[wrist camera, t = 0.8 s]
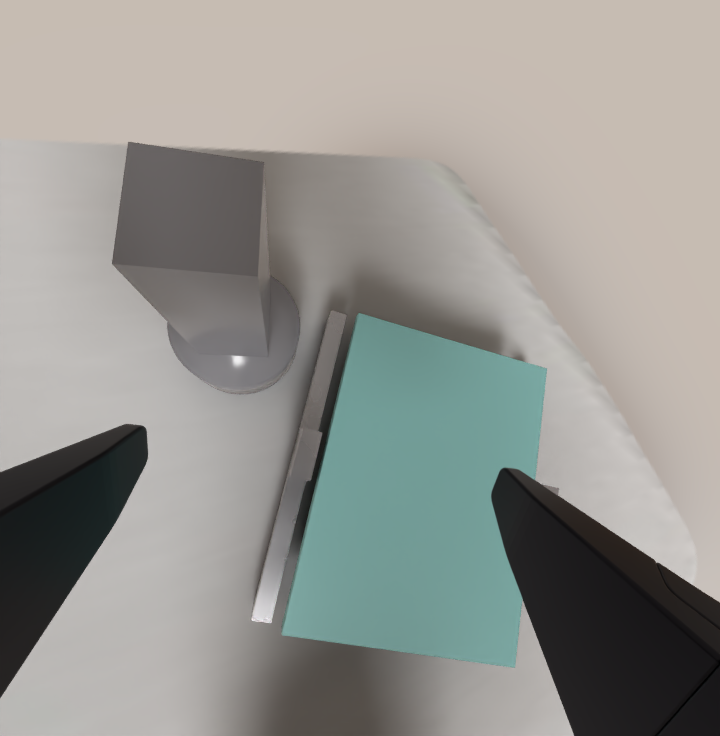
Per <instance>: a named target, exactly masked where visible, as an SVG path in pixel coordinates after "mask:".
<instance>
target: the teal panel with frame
mask: <svg viewBox="0 0 720 736" xmlns="http://www.w3.org/2000/svg"><path fill="white" fill-rule="evenodd" d="M346 317H347V315H346V314H343V313H340V312H336V311H333V310H331V312H330V314H329V317H328V319H327V323H326V327H325V331H324V335H323V338H322V342H321V346H320V350H319V354H318V358H317V362H316V365H315V369H314V373H313V377H312V381H311V385H310V389H309V392H308V396H307V400H306V404H305V408H304V412H303V415H302V419H301V423H300V427H299V431H298V435H297V439H296V442H295V446H294V450H293V454H292V458H291V462H290V466H289V469H288V473H287V477H286V481H285V485H284V489H283V492H282V496H281V500H280V504H279V508H278V512H277V516H276V519H275V523H274V527H273V531H272V535H271V539H270V543H269V546H268V550H267V554H266V558H265V562H264V566H263V570H262V573H261V577H260V581H259V585H258V589H257V593H256V596H255V600H254V604H253V611H252V617H251V621H258V622H265V623H271V621H272V617H273V613H274V609H275V605H276V600H277V596H278V592H279V588H280V584H281V580H282V576H283V572H284V568H285V564H286V560H287V556H288V552H289V548H290V544H291V540H292V536H293V532H294V528H295V524H296V520H297V516H298V511H299V507H300V503H301V499H302V495H303V491H304V487H305V483H306V480H308V481H311V478H312V474H313V470H314V466H315V462H316V458H317V453H318V449H319V445H320V441H321V437H322V432H318V431H319V426H320V422H321V418H322V414H323V410H324V406H325V402H326V398H327V394H328V390H329V386H330V382H331V378H332V374H333V370H334V366H335V362H336V358H337V354H338V350H339V346H340V341H341V337H342V333H343V329H344V325H345V321H346ZM543 486H544V487H546V488H547V489H549V490H550V491H552V492H553V493H555V494H556V495H558V490H559V488H555V487H550V486H546V485H543Z"/></svg>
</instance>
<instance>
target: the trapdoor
mask: <svg viewBox="0 0 720 736" xmlns="http://www.w3.org/2000/svg"><path fill="white" fill-rule="evenodd" d="M546 373H547V369H546V368H543V367H539V366H536V365H533V364H529V363H526V362H523V361H519V360H516V359H513V358H509V357H506V356H502V355H499V354H496V353H492V352H489V351H486V350H482V349H479V348H475V347H472V346H469V345H465V344H462V343H459V342H455V341H452V340H449V339H445V338H442V337H438V336H435V335H432V334H428V333H425V332H422V331H418V330H415V329H412V328H408V327H405V326H401V325H398V324H395V323H391V322H388V321H385V320H381V319H378V318H374V317H371V316H368V315H364V314H361V313H358V315H357V316H356V319H355V323H354V327H353V331H352V336H351V340H350V344H349V348H348V352H347V356H346V361H345V365H344V369H343V373H342V377H341V381H340V385H339V390H338V394H337V398H336V402H335V406H334V410H333V415H332V419H331V423H330V427H329V431H328V435H327V439H326V444H325V448H324V452H323V456H322V460H321V464H320V469H319V473H318V477H317V481H316V485H315V489H314V493H313V498H312V502H311V506H310V510H309V514H308V518H307V523H306V527H305V531H304V535H303V539H302V543H301V548H300V552H299V556H298V560H297V564H296V568H295V572H294V577H293V581H292V585H291V589H290V593H289V597H288V602H287V606H286V610H285V614H284V618H283V622H282V635H284V636H291V637H299V638H306V639H313V640H320V641H327V642H334V643H341V644H349V645H356V646H363V647H370V648H377V649H384V650H391V651H399V652H406V653H413V654H420V655H427V656H434V657H441V658H448V659H456V660H463V661H470V662H477V663H484V664H491V665H498V666H506V667H513V668H515V662H516V653H517V644H518V634H519V625H520V616H521V606H522V596H521V593H520V591H519V588H518V585H517V583H516V580H515V578H514V575H513V572H512V570H511V567H510V564H509V561H508V559H507V556H506V552H505V549H504V546H503V542H502V538H501V535H500V531H499V527H498V523H497V520H496V516H495V512H494V508H493V505H492V501H491V492H492V489H493V486H494V484H495V481H496V479H497V476H498V474H499V471H500V470H501V469H502V468H504V467H506V468H515V469H519V470H520V471H522V472H523V473H525V474H526V475H528V476H529V477H531V478H532V479H534V480H535V476H536V466H537V457H538V448H539V438H540V429H541V420H542V410H543V401H544V392H545V382H546Z"/></svg>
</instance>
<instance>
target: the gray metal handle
mask: <svg viewBox="0 0 720 736" xmlns="http://www.w3.org/2000/svg"><path fill="white" fill-rule="evenodd" d="M112 264H113V265H114V266H115V267H116V269H117V270H118V271H119V272H120V273H121V274H122V275H123V276H124V277H125V278H126V279H127V280H128V281H129V282H130V283H131V284H132V285H133V286H134V287H135V288H136V289H137V290H138V291H139V292H140V293H141V294H142V296H143V297H144V298H145V299H146V300H147V301H148V302H149V303H150V304H151V305H152V306H153V307H154V308H155V309H156V310H157V311H158V312H159V313H160V314H161V315H162V316H163V317H164V318H165V319H166V320H167V321H168V325H167V329H168V336H169V340H170V344H171V346H172V348H173V351H174V353H175V354H176V356H177V357H178V359H179V360H180V361H181V363H182V364H183V365H184V366H185V367H186V368H187V369H188V370H189V371H190V372H192V373H193V374H194V375H196V376H197V377H199V378H200V379H201V380H203V381H204V382H205V383H207V384H208V385H210V386H211V387H213V388H215V389H217V390H220V391H223V392H227V393H231V394H249V393H255V392H258V391H262V390H264V389H266V388H268V387H270V386H272V385H273V384H275V383H276V382H277V381H279V380H280V379H281V378H282V377H283V376H284V375H285V374H286V372H287V371H288V370H289V368H290V366H291V364H292V362H293V360H294V357H295V353H296V349H297V344H298V339H299V333H300V319H299V313H298V310H297V307H296V304H295V302H294V300H293V298H292V296H291V295H290V293H289V292H288V291H287V289H286V288H285V287H284V286H283V285H282V284H281V283H280V282H279V281H278V280H276V279H275V278H274V277H272V276H271V275H270V266H269V248H268V229H267V210H266V192H265V173H264V162H258V161H252V160H245V159H238V158H232V157H225V156H219V155H212V154H206V153H199V152H192V151H186V150H179V149H173V148H166V147H159V146H153V145H146V144H140V143H133V142H128V148H127V156H126V163H125V171H124V178H123V186H122V193H121V201H120V208H119V215H118V223H117V230H116V238H115V245H114V253H113V260H112Z"/></svg>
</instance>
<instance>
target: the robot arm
mask: <svg viewBox="0 0 720 736" xmlns="http://www.w3.org/2000/svg"><path fill="white" fill-rule="evenodd" d="M147 459H148V445H147V431H146V428H145V427H144V426H141V425H133V424H124V425H122V426H119V427H117V428H114V429H111V430H109V431H106V432H104V433H101V434H98V435H96V436H93V437H91V438H88V439H85V440H83V441H80V442H78V443H75V444H72V445H70V446H67V447H65V448H62V449H59V450H57V451H54V452H52V453H49V454H47V455H44V456H41V457H39V458H36V459H34V460H31V461H28V462H26V463H23V464H21V465H18V466H15V467H13V468H10V469H8V470H5V471H2V472H0V698H1V696H2V695H3V693H4V692H5V690H6V689H7V687H8V686H9V684H10V683H11V681H12V680H13V678H14V677H15V675H16V674H17V672H18V670H19V669H20V667H21V666H22V664H23V663H24V661H25V660H26V658H27V657H28V655H29V654H30V652H31V651H32V649H33V648H34V646H35V645H36V643H37V642H38V640H39V639H40V637H41V636H42V634H43V632H44V631H45V629H46V628H47V626H48V625H49V623H50V622H51V620H52V619H53V617H54V616H55V614H56V613H57V611H58V610H59V608H60V607H61V605H62V604H63V602H64V601H65V599H66V598H67V596H68V594H69V593H70V591H71V590H72V588H73V587H74V585H75V584H76V582H77V581H78V579H79V578H80V576H81V575H82V573H83V572H84V570H85V569H86V567H87V566H88V564H89V563H90V561H91V560H92V558H93V556H94V555H95V553H96V552H97V550H98V549H99V547H100V546H101V544H102V543H103V541H104V540H105V538H106V537H107V535H108V534H109V532H110V531H111V529H112V527H113V526H114V524H115V523H116V521H117V519H118V517H119V515H120V514H121V512H122V510H123V508H124V506H125V504H126V502H127V500H128V498H129V496H130V494H131V492H132V490H133V488H134V486H135V484H136V483H137V481H138V479H139V477H140V475H141V473H142V471H143V469H144V467H145V465H146V462H147ZM491 501H492V505H493V508H494V512H495V516H496V520H497V523H498V527H499V531H500V535H501V538H502V542H503V546H504V549H505V552H506V556H507V559H508V561H509V564H510V567H511V570H512V572H513V575H514V578H515V580H516V583H517V585H518V588H519V591H520V593H521V596H522V599H523V601H524V604H525V607H526V609H527V612H528V615H529V617H530V620H531V622H532V625H533V628H534V630H535V633H536V636H537V638H538V641H539V644H540V646H541V649H542V651H543V654H544V657H545V659H546V662H547V665H548V667H549V670H550V673H551V675H552V678H553V681H554V683H555V686H556V688H557V691H558V694H559V696H560V699H561V702H562V704H563V707H564V710H565V712H566V715H567V718H568V720H569V723H570V725H571V728H572V731H573V733H574V736H720V603H719V602H718V601H716V600H715V599H713V598H712V597H710V596H708V595H707V594H705V593H703V592H702V591H701V590H699V589H697V588H696V587H695V586H693V585H692V584H690V583H688V582H687V581H685V580H684V579H682V578H681V577H679V576H678V575H676V574H675V573H673V572H672V571H670V570H669V569H667V568H666V567H664V566H663V565H661V564H660V563H656V562H655V560H654V559H652V558H651V557H649V556H648V555H646V554H645V553H643V552H642V551H640V550H639V549H637V548H636V547H634V546H633V545H631V544H630V543H628V542H627V541H625V540H624V539H622V538H621V537H619V536H618V535H616V534H615V533H613V532H612V531H610V530H609V529H607V528H606V527H604V526H603V525H601V524H600V523H598V522H597V521H595V520H594V519H592V518H591V517H589V516H588V515H586V514H585V513H583V512H582V511H580V510H579V509H577V508H576V507H574V506H573V505H571V504H570V503H568V502H567V501H565V500H564V499H562V498H561V497H559V496H558V495H556V494H555V493H553V492H552V491H550V490H549V489H547V488H546V487H544V486H543V485H541V484H540V483H538V482H537V481H535V480H534V479H532V478H531V477H529V476H528V475H526V474H525V473H523V472H522V471H520V470H519V469H515V468H506V467H504V468H502V469H501V470H500V471H499V474H498V476H497V479H496V481H495V484H494V486H493V489H492V492H491Z"/></svg>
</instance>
